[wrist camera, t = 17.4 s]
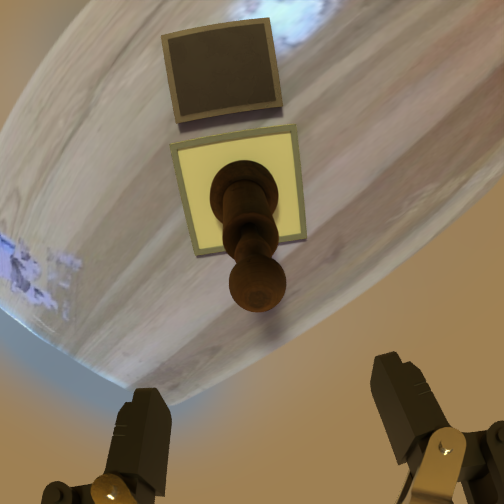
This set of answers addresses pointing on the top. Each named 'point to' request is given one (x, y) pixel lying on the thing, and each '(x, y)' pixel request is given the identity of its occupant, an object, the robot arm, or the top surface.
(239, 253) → the brown wooden stamp
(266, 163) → the print card
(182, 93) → the ink pad
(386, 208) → the top surface
